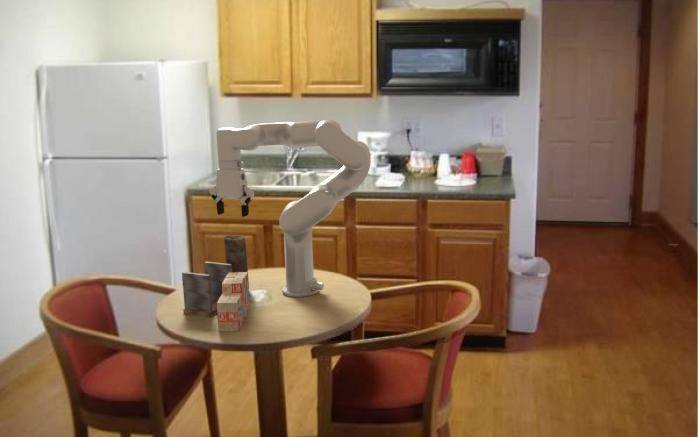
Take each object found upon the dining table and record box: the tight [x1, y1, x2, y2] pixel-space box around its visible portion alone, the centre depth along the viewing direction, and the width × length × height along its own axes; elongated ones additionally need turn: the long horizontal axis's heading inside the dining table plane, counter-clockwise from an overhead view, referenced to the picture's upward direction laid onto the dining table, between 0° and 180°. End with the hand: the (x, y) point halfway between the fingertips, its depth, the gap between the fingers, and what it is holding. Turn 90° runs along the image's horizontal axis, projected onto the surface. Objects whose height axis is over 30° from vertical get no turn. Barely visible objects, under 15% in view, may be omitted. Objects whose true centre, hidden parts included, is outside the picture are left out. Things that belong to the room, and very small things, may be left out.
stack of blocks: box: [216, 272, 251, 332], centre depth 239 cm, size 21×6×12 cm, turn 178°
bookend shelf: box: [181, 261, 232, 318], centre depth 249 cm, size 10×15×14 cm, turn 155°
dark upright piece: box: [223, 235, 250, 287], centre depth 263 cm, size 8×7×20 cm
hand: (233, 214), depth 259 cm, fingers open, 9 cm apart
